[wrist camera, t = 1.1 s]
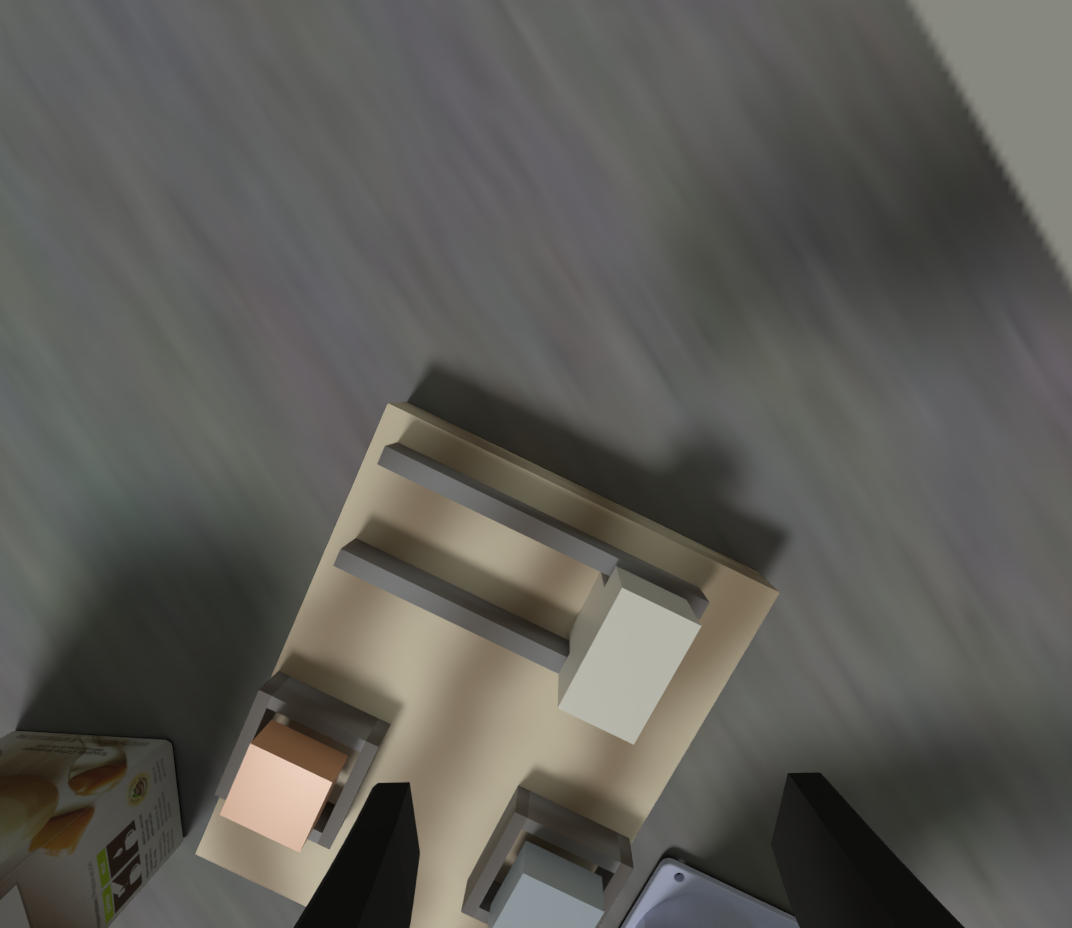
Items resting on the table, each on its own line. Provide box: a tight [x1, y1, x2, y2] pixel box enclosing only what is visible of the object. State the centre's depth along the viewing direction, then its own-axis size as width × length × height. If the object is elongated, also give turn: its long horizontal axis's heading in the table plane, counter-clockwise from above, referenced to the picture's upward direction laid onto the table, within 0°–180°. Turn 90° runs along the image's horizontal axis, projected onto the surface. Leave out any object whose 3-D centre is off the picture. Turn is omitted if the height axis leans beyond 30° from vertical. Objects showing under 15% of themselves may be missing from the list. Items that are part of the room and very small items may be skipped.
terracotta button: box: [220, 720, 348, 853], centre depth 21 cm, size 4×4×2 cm
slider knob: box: [558, 566, 701, 745], centre depth 20 cm, size 3×5×4 cm, turn 154°
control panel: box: [196, 402, 780, 928], centre depth 23 cm, size 18×24×4 cm
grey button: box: [487, 841, 604, 928], centre depth 21 cm, size 4×4×2 cm
